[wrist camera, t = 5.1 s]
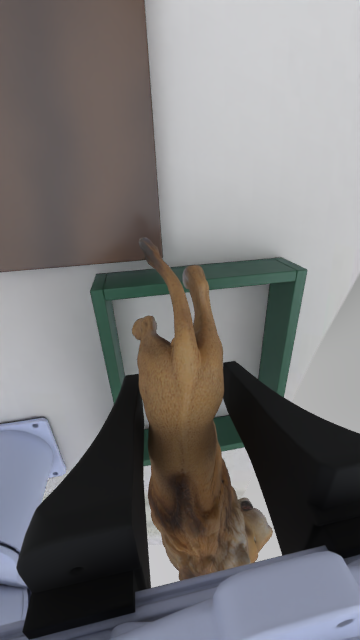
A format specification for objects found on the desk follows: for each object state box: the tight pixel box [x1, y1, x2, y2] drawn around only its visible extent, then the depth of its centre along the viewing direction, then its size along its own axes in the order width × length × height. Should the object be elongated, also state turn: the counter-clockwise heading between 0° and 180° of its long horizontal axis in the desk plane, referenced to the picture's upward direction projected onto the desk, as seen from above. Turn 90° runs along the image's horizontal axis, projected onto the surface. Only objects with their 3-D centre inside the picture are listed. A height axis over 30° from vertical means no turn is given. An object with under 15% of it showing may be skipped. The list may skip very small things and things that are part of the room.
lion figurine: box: [132, 237, 273, 581], centre depth 12 cm, size 15×5×9 cm, turn 13°
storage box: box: [90, 257, 307, 466], centre depth 23 cm, size 15×18×4 cm
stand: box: [0, 0, 163, 272], centre depth 14 cm, size 12×18×2 cm, turn 2°
